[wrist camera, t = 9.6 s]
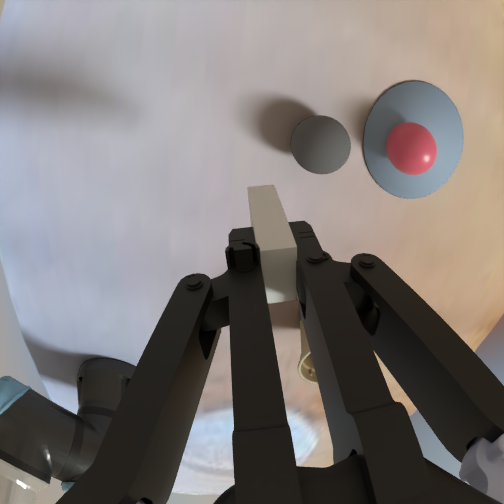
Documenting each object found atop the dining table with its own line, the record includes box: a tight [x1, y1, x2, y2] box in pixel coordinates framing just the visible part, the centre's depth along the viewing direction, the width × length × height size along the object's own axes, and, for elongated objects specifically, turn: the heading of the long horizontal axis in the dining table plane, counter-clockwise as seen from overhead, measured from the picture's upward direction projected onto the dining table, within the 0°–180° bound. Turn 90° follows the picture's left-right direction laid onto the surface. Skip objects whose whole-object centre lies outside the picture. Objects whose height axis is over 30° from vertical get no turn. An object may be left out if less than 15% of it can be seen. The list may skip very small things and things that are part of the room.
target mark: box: [363, 81, 463, 199], centre depth 30 cm, size 14×14×1 cm
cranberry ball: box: [386, 122, 437, 175], centre depth 28 cm, size 6×6×6 cm
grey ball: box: [291, 116, 351, 174], centre depth 27 cm, size 6×6×6 cm
